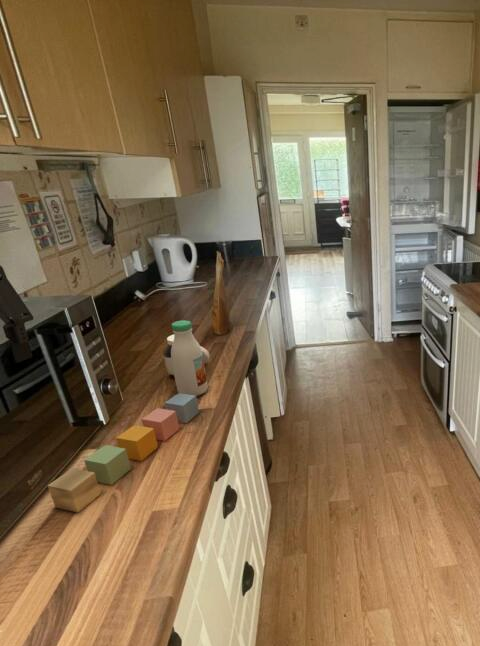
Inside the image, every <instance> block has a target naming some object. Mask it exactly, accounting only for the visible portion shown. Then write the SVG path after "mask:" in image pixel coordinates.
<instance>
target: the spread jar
mask: <svg viewBox="0 0 480 646" xmlns="http://www.w3.org/2000/svg"><path fill="white" fill-rule="evenodd" d="M166 341H167V345H166V346H165V348H164V350H163V358H164V364H165V368H166V371H167V373H168V374H169V375H170V376H172V377H173V378H175V376H174V370H173V365H172V359H171V348H172V345H173V341H174V334H171V335H169V336H167V338H166ZM200 347H201V350H202V355H203V360H204V364H207V362H208V361H209V359H210V356H211V355H210V352H209V350H207V349H206V348H205V347H203V346H201V345H200Z"/></svg>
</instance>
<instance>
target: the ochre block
mask: <svg viewBox="0 0 480 646" xmlns="http://www.w3.org/2000/svg"><path fill="white" fill-rule="evenodd" d="M116 442H117V447H119V448H124V449H126V451H127V455H128V459H129V460H133V461H139V462H142V461H143V460H145V459H146V458H147V457H148V456H149V455H151V454H152V453H153V452H155V450H157V449H158V448H159V446H158V441H157V439H156V436H155V432H154V428H148V427H143V425H136V424H133V425H131V426H130V427H129V428H128V429H126V430H125V431H124V432H122V433H121V434H119V435H118V436H117V437H116Z"/></svg>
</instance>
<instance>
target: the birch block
mask: <svg viewBox="0 0 480 646" xmlns="http://www.w3.org/2000/svg"><path fill="white" fill-rule="evenodd" d="M47 488H48V491H49V494H50V496H51V499H52V502H53V505H54V507H55V508H57V509H60V510H66V511H70V512H74V513H80V512H81V511H82V510H83V509H85V507H87V506H88V505H89V504H91V503H92V502H93V501H94V500H95V499H96V498H98V497H99V496H100V495H101V494H102V492H101V489H100V486H99V482H97V479H96V476H95V473H94V472H89V471H87V470H84V469H79V468H74V467H72V468H70V469H69V470H67V471H66V472H65V473H63V474H62V475H61V476H58V478H56V479H55V480H53V481H52V482H51V483H49V484H48V485H47Z"/></svg>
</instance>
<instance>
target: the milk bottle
mask: <svg viewBox="0 0 480 646" xmlns="http://www.w3.org/2000/svg"><path fill="white" fill-rule="evenodd" d="M192 325H193V324H192V322H191V321H190V320H183V319H182V320H177V321H174V322H172V323H171V329H172V333H173V335H174V341H173V345H172V348H171V359H172V365H173V370H174V376H175V377H174V380H175V385H176V391H177V394H178V393H182V394H188V395H195V396H196V397H198V396H200V395H201V396H202V395H203V394H205V393H206V392H207V390H208V388H209V386H208V379H207V372H206V366H205V363H204V360H203V355H202V350H201V347H202V346H201V345H200V344H199V342H198V341H197V339H196V338H195V336H194V334H193V332H192V331H193V327H192ZM200 346H201V347H200Z"/></svg>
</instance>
